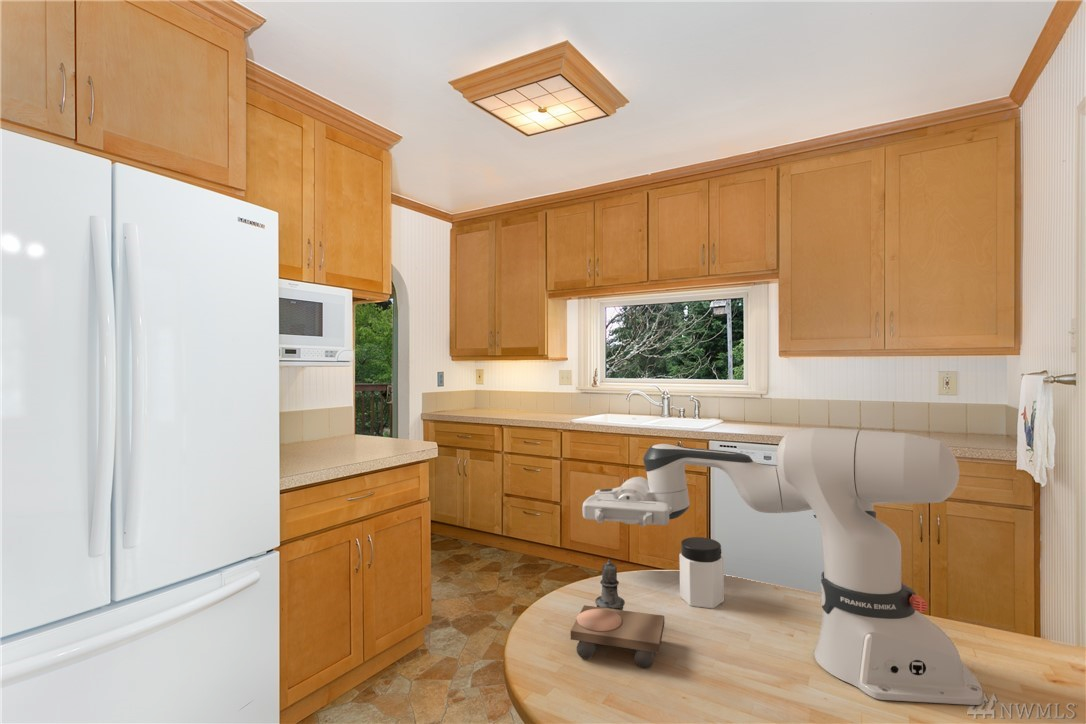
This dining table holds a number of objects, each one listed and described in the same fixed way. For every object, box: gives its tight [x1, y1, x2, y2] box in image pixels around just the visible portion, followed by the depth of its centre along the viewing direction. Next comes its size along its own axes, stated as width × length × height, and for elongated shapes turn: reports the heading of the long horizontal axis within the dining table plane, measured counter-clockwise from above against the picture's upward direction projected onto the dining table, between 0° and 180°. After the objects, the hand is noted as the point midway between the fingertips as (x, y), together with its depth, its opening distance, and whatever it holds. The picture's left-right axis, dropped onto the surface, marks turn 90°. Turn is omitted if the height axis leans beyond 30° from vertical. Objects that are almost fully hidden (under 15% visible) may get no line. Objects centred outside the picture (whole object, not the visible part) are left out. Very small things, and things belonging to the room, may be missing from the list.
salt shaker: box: [594, 558, 626, 610], centre depth 105 cm, size 6×6×12 cm
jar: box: [678, 536, 725, 609], centre depth 113 cm, size 9×8×12 cm
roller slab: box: [570, 604, 665, 670], centre depth 95 cm, size 15×10×5 cm, turn 72°
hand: (620, 520), depth 119 cm, fingers open, 8 cm apart
